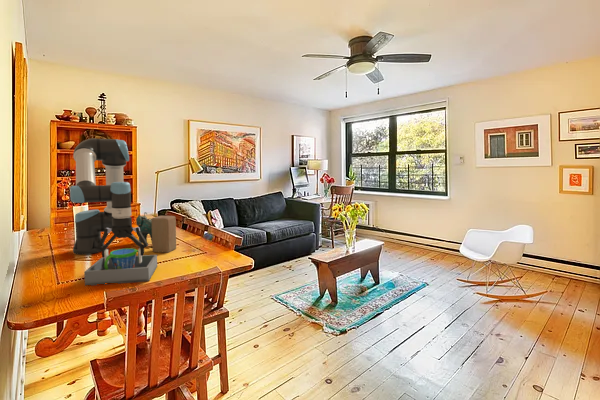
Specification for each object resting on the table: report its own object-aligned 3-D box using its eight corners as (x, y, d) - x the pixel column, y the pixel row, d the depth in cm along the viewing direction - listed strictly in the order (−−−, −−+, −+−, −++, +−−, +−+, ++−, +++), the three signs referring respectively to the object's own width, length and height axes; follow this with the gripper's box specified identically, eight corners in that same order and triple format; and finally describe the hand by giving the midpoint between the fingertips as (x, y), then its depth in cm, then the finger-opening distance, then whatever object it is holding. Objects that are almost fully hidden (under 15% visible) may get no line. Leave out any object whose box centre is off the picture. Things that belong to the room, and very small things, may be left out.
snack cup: (110, 280, 130) (108, 257, 129) (100, 275, 136) (99, 252, 135) (147, 271, 142) (146, 249, 141) (136, 266, 149) (136, 245, 148)
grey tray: (85, 285, 127) (84, 271, 126) (102, 269, 146) (101, 257, 145) (148, 281, 133) (148, 267, 132) (157, 266, 152) (156, 254, 151)
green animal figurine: (135, 242, 199) (134, 211, 196) (145, 240, 204) (144, 210, 202) (152, 247, 187) (151, 214, 185) (162, 245, 193) (161, 213, 190)
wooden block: (177, 248, 185) (176, 215, 183) (168, 253, 175) (167, 218, 173) (161, 247, 186) (160, 215, 184) (151, 252, 176) (150, 217, 174)
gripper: (86, 219, 130) (89, 267, 132) (150, 217, 136) (152, 264, 139) (93, 216, 137) (95, 262, 139) (154, 214, 143) (155, 259, 146)
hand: (123, 263), depth 139 cm, fingers open, 13 cm apart
